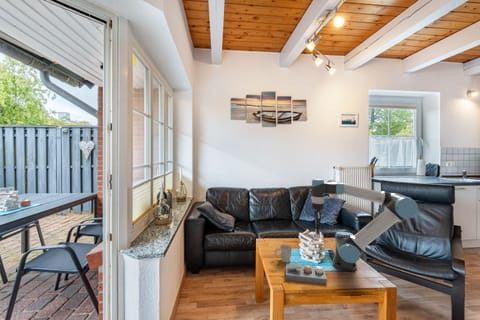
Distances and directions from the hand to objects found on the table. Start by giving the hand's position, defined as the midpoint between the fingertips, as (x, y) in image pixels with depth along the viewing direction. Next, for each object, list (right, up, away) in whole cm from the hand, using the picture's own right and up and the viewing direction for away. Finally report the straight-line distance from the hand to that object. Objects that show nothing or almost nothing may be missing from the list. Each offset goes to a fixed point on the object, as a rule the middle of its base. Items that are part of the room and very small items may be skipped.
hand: (317, 238), depth 150 cm
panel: (-10, -23, -4) cm, 25 cm away
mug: (-20, -22, +17) cm, 34 cm away
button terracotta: (-8, -20, -5) cm, 22 cm away
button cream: (-1, -20, -6) cm, 21 cm away
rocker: (-16, -17, -3) cm, 24 cm away
